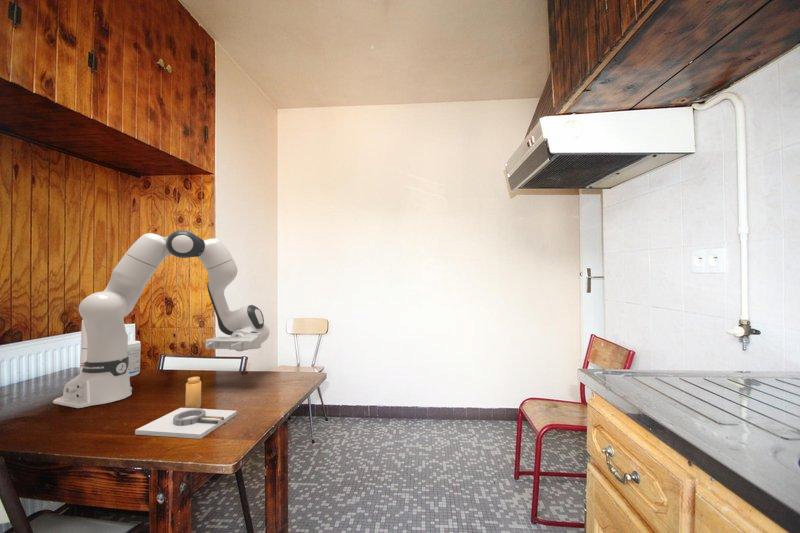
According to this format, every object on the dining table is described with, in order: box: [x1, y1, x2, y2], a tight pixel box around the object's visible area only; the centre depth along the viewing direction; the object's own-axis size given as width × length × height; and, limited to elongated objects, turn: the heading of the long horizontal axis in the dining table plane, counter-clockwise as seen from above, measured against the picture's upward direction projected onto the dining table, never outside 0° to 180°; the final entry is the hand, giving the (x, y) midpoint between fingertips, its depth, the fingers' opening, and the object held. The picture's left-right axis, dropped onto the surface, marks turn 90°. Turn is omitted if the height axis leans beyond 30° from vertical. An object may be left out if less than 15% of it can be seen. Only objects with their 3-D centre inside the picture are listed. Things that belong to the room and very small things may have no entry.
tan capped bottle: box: [184, 376, 202, 409], centre depth 110 cm, size 4×4×10 cm
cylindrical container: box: [79, 319, 87, 374], centre depth 147 cm, size 7×7×25 cm
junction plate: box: [134, 407, 238, 440], centre depth 98 cm, size 20×16×3 cm
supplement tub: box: [127, 340, 142, 378], centre depth 147 cm, size 10×10×15 cm
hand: (218, 347), depth 122 cm, fingers open, 8 cm apart
